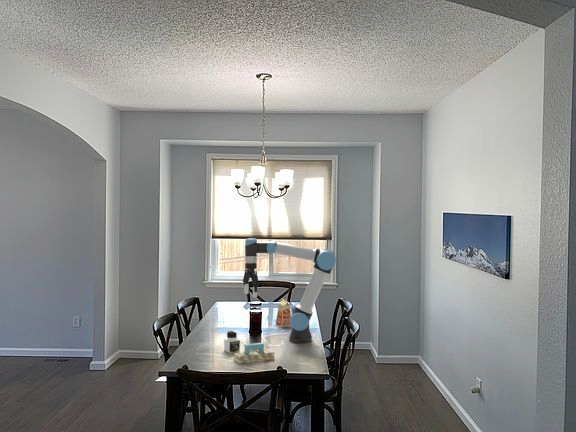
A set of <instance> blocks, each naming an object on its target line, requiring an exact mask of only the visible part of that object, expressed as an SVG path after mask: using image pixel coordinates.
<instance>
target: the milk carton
mask: <svg viewBox="0 0 576 432" xmlns="http://www.w3.org/2000/svg"><path fill="white" fill-rule="evenodd" d="M291 316H292V312H291V306H290V303H289V301H287V300H285V299H284V298H281V301H280V302H279V303H278V307H277V313H276V320H275V325H276V327H279V328H287V327H292V326H291V323H290V318H291ZM275 325H274V326H275Z"/></svg>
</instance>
